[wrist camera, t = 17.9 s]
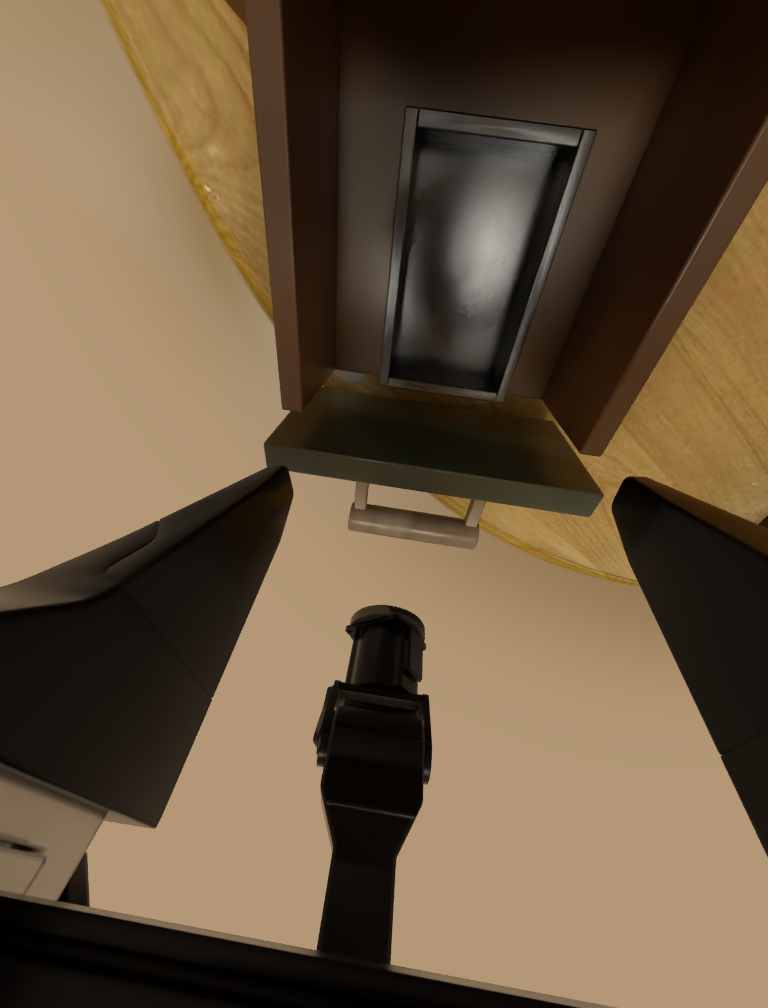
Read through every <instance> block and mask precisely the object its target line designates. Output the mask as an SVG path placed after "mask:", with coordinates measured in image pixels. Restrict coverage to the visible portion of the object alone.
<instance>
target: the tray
mask: <svg viewBox="0 0 768 1008" xmlns="http://www.w3.org/2000/svg"><path fill="white" fill-rule="evenodd" d="M596 134H597V130H596V129H590V128H584V129H583V128H582V127H574V126H566V125H558V124H550V123H542V122H534V121H526V120H519V119H511V118H503V117H495V116H487V115H479V114H471V113H463V112H455V111H447V110H440V109H432V108H424V107H420V108H418V107H416V106H408V105H407V106H405V112H404V123H403V134H402V144H401V155H400V165H399V176H398V186H397V197H396V208H395V218H394V229H393V239H392V250H391V260H390V271H389V282H388V292H387V303H386V313H385V324H384V335H383V345H382V356H381V366H380V377H379V385H381V386H389V387H395V388H402V389H409V390H416V391H423V392H430V393H437V394H443V395H450V396H457V397H464V398H471V399H478V400H485V401H492V402H494V401H495V402H499V403H504V401H505V398H506V395H507V392H508V389H509V386H510V383H511V380H512V377H513V374H514V372H515V369H516V366H517V363H518V360H519V357H520V354H521V351H522V348H523V346H524V343H525V340H526V337H527V334H528V331H529V328H530V325H531V322H532V319H533V317H534V314H535V311H536V308H537V305H538V302H539V299H540V296H541V293H542V291H543V288H544V285H545V282H546V279H547V276H548V273H549V270H550V267H551V264H552V262H553V259H554V256H555V253H556V250H557V247H558V244H559V241H560V238H561V236H562V233H563V230H564V227H565V224H566V221H567V218H568V215H569V212H570V209H571V207H572V204H573V201H574V198H575V195H576V192H577V189H578V186H579V183H580V181H581V178H582V175H583V172H584V169H585V166H586V163H587V160H588V157H589V154H590V152H591V149H592V146H593V143H594V140H595V137H596Z"/></svg>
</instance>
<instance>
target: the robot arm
mask: <svg viewBox="0 0 768 1008" xmlns="http://www.w3.org/2000/svg"><path fill="white" fill-rule="evenodd" d="M292 499H293V487H292V484H291V479H290V475H289V471H288V469H287V467H286V466H283V465H271V466H269V467H267V468H265V469H263V470H261V471H259V472H257V473H255V474H252V475H251V476H248V477H246V478H244V479H242V480H240V481H238V482H236V483H234V484H232V485H230V486H228V487H226V488H224V489H222V490H220V491H218V492H216V493H214V494H211V495H209V496H207V497H205V498H203V499H201V500H199V501H197V502H195V503H193V504H191V505H189V506H187V507H185V508H182V509H180V510H178V511H176V512H174V513H172V514H170V515H168V516H166V517H164V518H162V519H160V521H155V522H153V523H152V524H149V525H147V526H145V527H144V528H141V529H139V530H137V531H135V532H132V533H130V534H128V535H126V536H124V537H122V538H120V539H117V540H115V541H113V542H110V543H108V544H106V545H104V546H102V547H99V548H97V549H95V550H92V551H90V552H88V553H85V554H83V555H80V556H78V557H76V558H73V559H71V560H69V561H66V562H64V563H62V564H59V565H57V566H55V567H52V568H50V569H48V570H45V571H43V572H41V573H38V574H36V575H34V576H31V577H29V578H26V579H24V580H21V581H18V582H16V583H13V584H9V585H6V586H3V587H0V1008H615V1007H610V1006H605V1005H599V1004H594V1003H589V1002H584V1001H578V1000H573V999H568V998H563V997H558V996H552V995H547V994H542V993H537V992H531V991H526V990H521V989H516V988H510V987H505V986H500V985H495V984H490V983H484V982H479V981H474V980H469V979H463V978H458V977H453V976H448V975H442V974H437V973H431V972H427V971H422V970H416V969H411V968H406V967H400V966H395V965H390V961H391V941H392V923H393V905H394V904H393V903H394V886H395V885H394V884H395V867H396V858H397V855H398V853H399V851H400V849H401V847H402V845H403V843H404V841H405V839H406V837H407V835H408V833H409V831H410V829H411V827H412V825H413V822H414V820H415V818H416V816H417V814H418V812H419V810H420V808H421V806H422V802H423V784H426V785H427V784H428V782H429V778H430V771H431V760H432V739H431V724H430V711H429V695H425V694H422V695H418V694H417V688H418V687H417V686H418V682H421V680H422V656H423V650H425V649H426V644H425V643H424V642H423V640H422V639H421V638H420V637H419V636H418V635H417V634H416V633H415V632H414V630H413V629H412V628H411V627H410V626H409V625H408V624H407V623H406V622H405V620H404V619H403V618H402V617H401V616H400V615H398V614H393V615H388V616H384V617H380V618H376V619H372V620H368V621H364V622H360V623H356V624H351V625H348V626H346V632H347V633H348V634H349V635H350V636H351V637H352V638H353V639H354V640H353V645H352V650H351V656H350V661H349V666H348V671H347V677H346V681H345V683H343V682H341V681H338V680H335V683H334V686H332V687H328V689H327V693H326V698H325V702H324V706H323V709H322V712H321V715H320V718H319V721H318V724H317V727H316V730H315V733H314V738H313V742H314V744H315V746H316V748H317V755H318V758H317V766H319V767H324V769H323V774H322V780H321V802H322V808H323V812H324V817H325V821H326V826H327V830H328V835H329V839H330V844H331V849H332V858H331V865H330V870H329V877H328V883H327V889H326V895H325V901H324V908H323V914H322V920H321V926H320V933H319V939H318V945H317V950H312V949H306V948H301V947H296V946H290V945H285V944H280V943H275V942H269V941H264V940H259V939H254V938H249V937H244V936H238V935H233V934H228V933H223V932H217V931H211V930H207V929H202V928H196V927H191V926H186V925H181V924H175V923H170V922H165V921H160V920H155V919H149V918H143V917H138V916H134V915H128V914H123V913H118V912H113V911H107V910H102V909H97V908H92V907H90V906H89V884H88V863H87V853H86V852H85V851H86V850H87V848H88V846H89V845H90V843H91V841H92V839H93V838H94V836H95V834H96V832H97V831H98V829H99V827H100V825H101V824H102V822H103V820H104V821H110V822H117V823H123V824H129V825H135V826H141V827H148V828H156V826H157V824H158V823H159V821H160V819H161V817H162V814H163V812H164V810H165V808H166V805H167V803H168V801H169V798H170V796H171V794H172V791H173V789H174V787H175V784H176V782H177V780H178V777H179V775H180V773H181V771H182V768H183V766H184V763H185V761H186V759H187V757H188V754H189V752H190V750H191V747H192V745H193V743H194V740H195V738H196V736H197V733H198V731H199V729H200V726H201V724H202V722H203V720H204V717H205V715H206V713H207V710H208V708H209V705H210V703H211V701H212V699H211V698H212V697H213V696H214V693H215V691H216V689H217V686H218V684H219V682H220V679H221V677H222V675H223V673H224V670H225V668H226V665H227V663H228V661H229V659H230V656H231V654H232V651H233V649H234V647H235V645H236V642H237V640H238V638H239V635H240V633H241V631H242V628H243V626H244V624H245V621H246V619H247V617H248V614H249V612H250V610H251V607H252V605H253V603H254V601H255V598H256V596H257V594H258V591H259V589H260V587H261V584H262V582H263V580H264V577H265V575H266V573H267V570H268V568H269V566H270V563H271V561H272V559H273V556H274V554H275V552H276V550H277V547H278V545H279V542H280V540H281V536H282V533H283V530H284V527H285V523H286V520H287V516H288V513H289V509H290V506H291V502H292ZM612 513H613V516H614V519H615V522H616V525H617V528H618V531H619V534H620V537H621V541H622V544H623V547H624V550H625V553H626V555H627V558H628V561H629V563H630V565H631V568H632V570H633V572H634V574H635V576H636V578H637V580H638V582H639V585H640V587H641V589H642V591H643V593H644V595H645V597H646V599H647V602H648V604H649V606H650V608H651V610H652V612H653V614H654V616H655V618H656V620H657V623H658V625H659V627H660V629H661V631H662V633H663V635H664V638H665V640H666V642H667V644H668V646H669V648H670V650H671V652H672V655H673V657H674V659H675V661H676V663H677V665H678V667H679V669H680V672H681V674H682V676H683V678H684V680H685V682H686V684H687V686H688V688H689V691H690V693H691V695H692V697H693V699H694V701H695V703H696V705H697V708H698V710H699V712H700V714H701V716H702V718H703V720H704V722H705V725H706V727H707V729H708V731H709V733H710V735H711V737H712V739H713V741H714V744H715V746H716V748H717V750H718V752H719V753H720V755H722V756H721V759H722V761H723V763H724V765H725V768H726V770H727V771H728V774H729V776H730V778H731V780H732V782H733V784H734V787H735V789H736V791H737V793H738V795H739V797H740V799H741V801H742V804H743V806H744V808H745V810H746V812H747V814H748V816H749V818H750V821H751V822H752V825H753V827H754V829H755V831H756V833H757V836H758V838H759V840H760V842H761V844H762V846H763V848H764V850H765V852H766V855H767V856H768V529H767V528H764V527H762V526H760V525H757V524H755V523H753V522H750V521H748V520H746V519H743V518H741V517H739V516H736V515H734V514H732V513H729V512H727V511H725V510H722V509H720V508H718V507H715V506H713V505H711V504H708V503H706V502H704V501H701V500H699V499H696V498H694V497H692V496H689V495H687V494H685V493H682V492H680V491H678V490H675V489H673V488H671V487H668V486H666V485H664V484H661V483H659V482H657V481H654V480H652V479H650V478H647V477H634V476H631V477H627V478H625V479H624V480H623V482H622V484H621V486H620V488H619V490H618V492H617V494H616V496H615V498H614V500H613V503H612Z"/></svg>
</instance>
